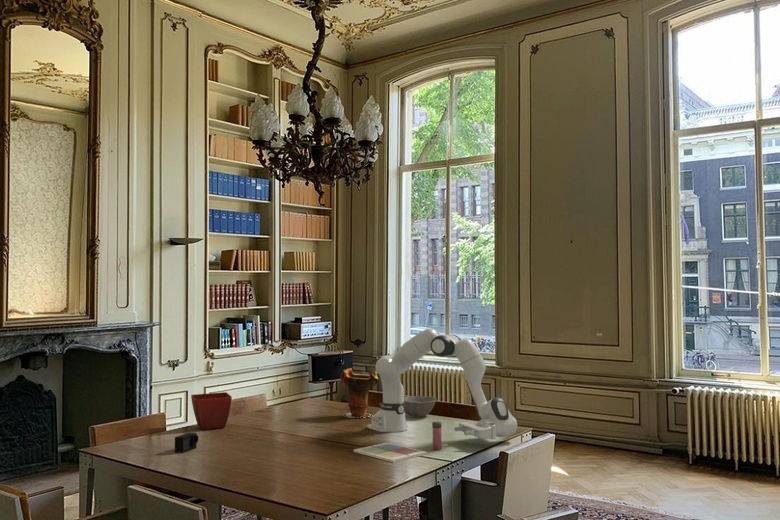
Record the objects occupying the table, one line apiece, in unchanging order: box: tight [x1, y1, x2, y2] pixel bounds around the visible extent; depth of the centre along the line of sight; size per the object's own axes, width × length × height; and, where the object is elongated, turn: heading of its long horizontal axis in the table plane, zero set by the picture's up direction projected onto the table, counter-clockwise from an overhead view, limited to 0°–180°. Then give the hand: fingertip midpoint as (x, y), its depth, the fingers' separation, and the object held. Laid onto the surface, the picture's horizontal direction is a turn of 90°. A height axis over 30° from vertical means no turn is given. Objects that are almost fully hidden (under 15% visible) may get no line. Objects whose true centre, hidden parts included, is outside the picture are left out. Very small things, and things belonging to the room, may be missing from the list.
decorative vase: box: [339, 367, 379, 419], centre depth 373 cm, size 20×22×27 cm
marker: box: [431, 421, 443, 451], centre depth 289 cm, size 4×4×12 cm
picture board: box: [353, 442, 428, 463], centre depth 282 cm, size 26×20×1 cm
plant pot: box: [190, 391, 233, 430], centre depth 344 cm, size 19×19×17 cm
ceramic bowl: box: [404, 395, 438, 418], centre depth 371 cm, size 22×23×10 cm
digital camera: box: [174, 432, 199, 454], centre depth 291 cm, size 10×5×7 cm, turn 161°
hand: (459, 431), depth 294 cm, fingers open, 8 cm apart
